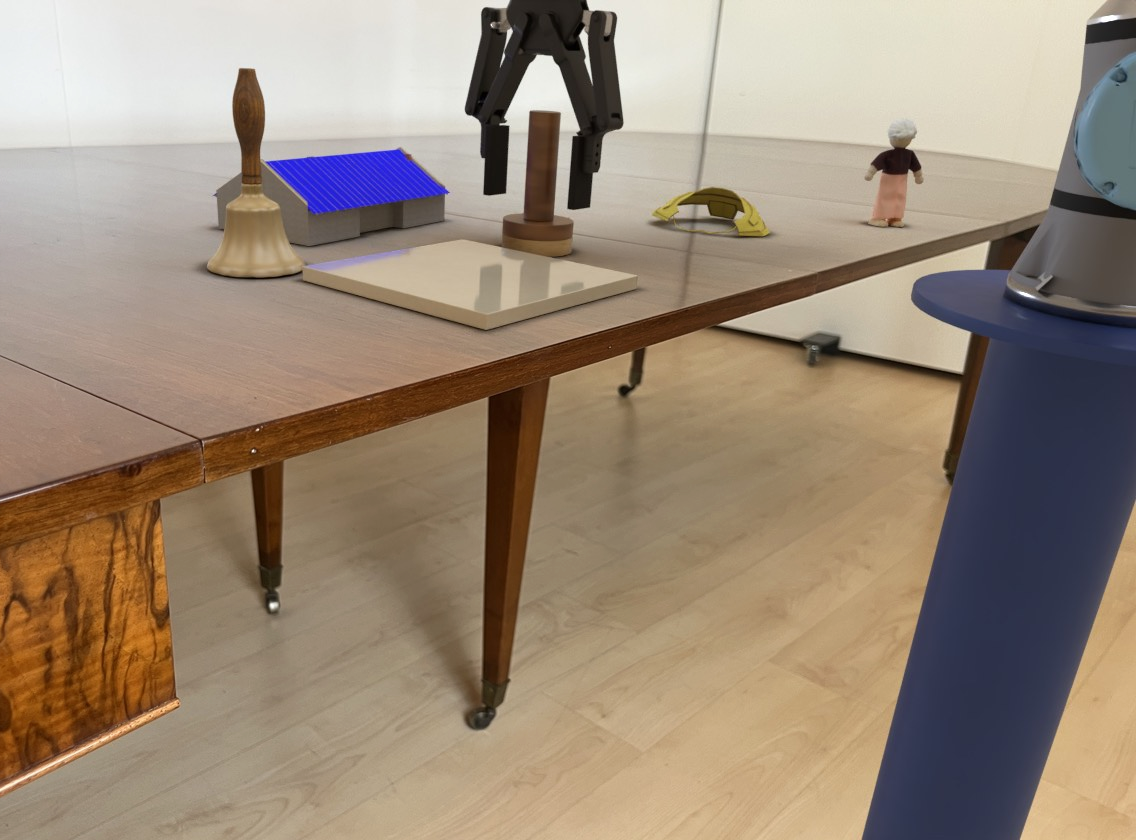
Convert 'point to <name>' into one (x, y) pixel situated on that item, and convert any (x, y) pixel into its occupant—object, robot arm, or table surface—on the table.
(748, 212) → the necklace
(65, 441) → the table surface
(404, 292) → the tile
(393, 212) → the model house
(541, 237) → the dish brush
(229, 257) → the hand bell
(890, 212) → the grandmother figurine
